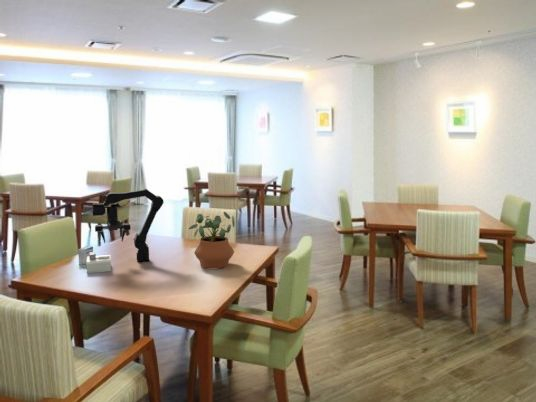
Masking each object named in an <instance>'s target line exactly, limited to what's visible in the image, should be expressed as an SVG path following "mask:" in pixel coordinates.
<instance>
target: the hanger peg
mask: <svg viewBox="0 0 536 402" xmlns="http://www.w3.org/2000/svg"><path fill="white" fill-rule="evenodd" d="M96 253H97V252H96V251H93V252H90V254H89V259H90V260H96V256H97V254H96Z"/></svg>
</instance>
